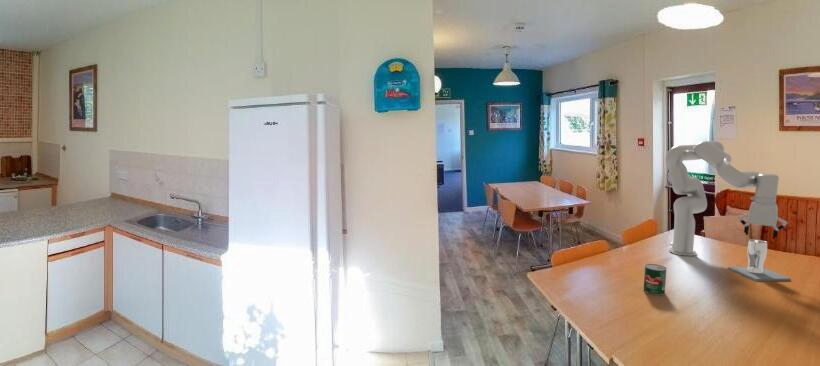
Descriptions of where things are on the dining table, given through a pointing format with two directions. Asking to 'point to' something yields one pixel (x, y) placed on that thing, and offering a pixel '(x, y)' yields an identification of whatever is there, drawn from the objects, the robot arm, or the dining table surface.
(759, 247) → the beer glass
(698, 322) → the dining table surface
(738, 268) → the grey mat
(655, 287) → the canned tomato
